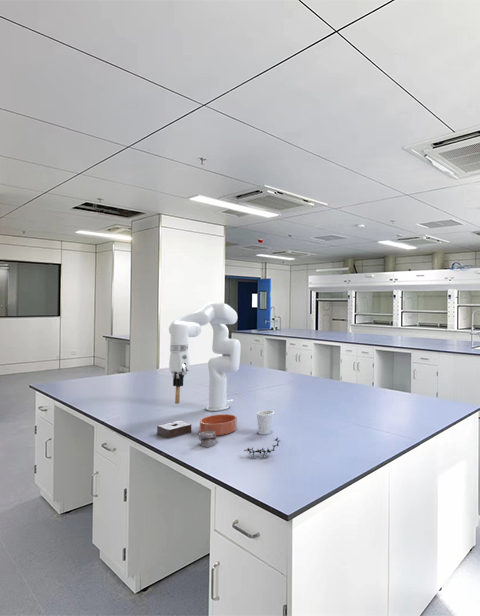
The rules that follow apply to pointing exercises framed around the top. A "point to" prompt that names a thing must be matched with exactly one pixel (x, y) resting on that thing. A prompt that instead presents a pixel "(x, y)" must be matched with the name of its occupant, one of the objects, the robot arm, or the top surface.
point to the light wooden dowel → (177, 394)
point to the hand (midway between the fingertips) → (178, 385)
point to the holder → (174, 429)
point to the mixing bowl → (219, 424)
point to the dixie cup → (265, 421)
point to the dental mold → (207, 438)
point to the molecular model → (262, 449)
